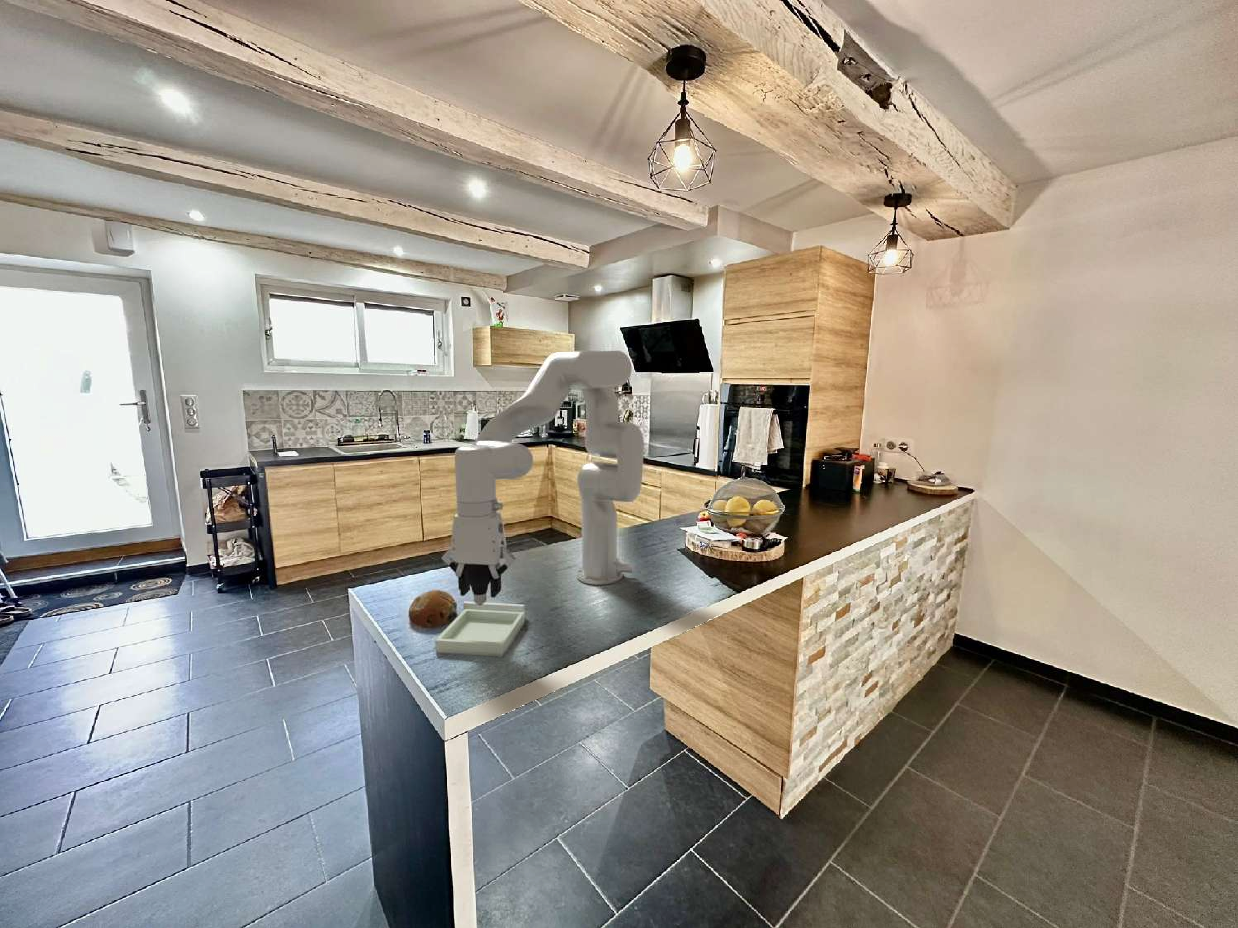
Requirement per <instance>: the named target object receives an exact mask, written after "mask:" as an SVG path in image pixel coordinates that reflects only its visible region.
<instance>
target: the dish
mask: <svg viewBox="0 0 1238 928" xmlns="http://www.w3.org/2000/svg"><path fill="white" fill-rule="evenodd" d="M525 621H526V620H525V618H524V612H510V611H493V610H475V609H464V608H463V611H462V612H460V614H459V615H458V616H456V618H454V619H453V620H452V621H451V623H450V624H449V625H448V626H447V627H446V629H444V630H443V631H442V632H441V634H439V635H438V637H437V638H436V639H434V647H435V653H443V654H455V655H456V654H457V655H458V654H459V655H467V656H468V655H472V656H485V657H499V658H503V657H504V656H505V654H506V653H507V651H508V649H509V648H510V646H511V645H512V644H513V642H514V640H515V639H516V637H517V635H518V634H519V633H520V631H521V629H522V628H523V626H524V624H525Z"/></svg>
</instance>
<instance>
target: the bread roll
mask: <svg viewBox="0 0 1238 928" xmlns="http://www.w3.org/2000/svg"><path fill="white" fill-rule="evenodd" d="M457 612H458V603H457V602H456V600H455V599H454V597H453V596H452V595H451V594H450V593H449V592H447V591H446V590H445V591H444V590H440V589H433V590H428V591H425V592H424V593H422V594H420V595H419V596H417V597H416V598H414V599H413V601H412V602H411V604H410V605H409V608H408V619H409V621H410V623H411V624H412V625H413V626H416V627H421V628H422V629H423V628H425V629H426V628H437V627H441V626H443V625H446V624H449V623H450V622H453V621H454V620H455V617H457Z"/></svg>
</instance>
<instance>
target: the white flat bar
mask: <svg viewBox="0 0 1238 928" xmlns="http://www.w3.org/2000/svg"><path fill="white" fill-rule="evenodd" d="M462 605H463V606H462V607H463V610H464V609H475V610H493V611H510V612H524V618H525V617H526V615H525V613H526V611H525V604H518V603H500V602H485V603H483V604H482V605H478V604H476V603H475V602H474V601H463V604H462Z"/></svg>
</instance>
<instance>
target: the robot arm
mask: <svg viewBox="0 0 1238 928" xmlns="http://www.w3.org/2000/svg"><path fill="white" fill-rule="evenodd" d="M631 374H632V362H631V360H630V358H629V357H628V355H627V353H625V352H623V351H622V350H621V351H620V350H571V351H570V350H568V351H558V352H554V353H552V354H550V355H549V356H548V357H547V358H546V359H545V360H544V361H543V364H542V365H541V366H540V368H539V369H538V371H537V372H536V374H535V376H534V377H533V378H532V380H531V381H530V383H529V384H528V386H527V388H526V389H525V390H524V392H523V394H522V395H521V397H519V398H518V399H516V400H515V401H514V402H512V403H510V404H509V405H507V407H505V408H504V409H502V410H501V411H500V412H499V413H497V414H496V415H495V416H493V417H492V418H491V419H490V420H489V421H488V422H487V423H486V425H485V426H484V427H483V428H482V430H481V431H480V433H479V435H478V436H477V438H475V441H474V442H473V444H472V445H464V446H460V447H458V448H456V450H455V452H454V475H455V490H456V491H455V492H456V494H455V495H456V513H455V515H454V517H453V521H452V528H451V529H452V530H451V539H450V541H451V542H450V545H451V546H450V548H448V550H446V552H445V553H444V554H443V555H442V557H441V560H442V561H443V562H444V563H446V565H448V566H449V569H451V570H452V572H454V575H455V576H456V577H457V579H458V580H457V581H458V590H459V594H460V596H461V597H463V596H465V595H466V594H467V593H469V592H470V591H471V586H470V584H469V583H468V582H467V581H466V579H465V575H464V570H465V567H466V565H467V564H479V565H488V566H489V569H490V571H491V574H492V578H491V579H490V583H489V585H490V586H489V587H490V588H489V589H490V597H491V599H492V598H493V599H494V598H496V597H497V595H499V593H500V592H501V591H502V575H503V574H504V573H505V572H506V571H507V570H508V569H509V568H510V567H511V566H513V564H515V563H516V561H517V558H516V557H515V556H514V554H513V553H512V552H511V551H510V550H509V549H508V548H507V541H506V540H507V539H506V533H505V531H506V530H505V527H504V522H503V521H504V520H503V517H502V514H501V512H498V511H499V510H500V511H502V510H503V508H504V504H503V502H498V498H497V491H496V490H497V488H496V487H497V486H496V485H497V483H496V482H497V481H498V480H517V479H521V478H523V477H525V476H526V475H527V474H529V472H530V471H531V470H532V468H533V466H534V465H533V464H534V457H533V453H532V452H531V450H530V449H529V448H528V447H527V446H525V445H524V444H521V443H518V442H512V441H513V440H514V439H515V438H516V437H518V436H520V435H521V434H523V433H525V432H528V431H529V430H533V429H536V428H538V427H541V426H543V425H545V424H547V423H550V422H551V421H553V420H554V419H555V417H556V416H557V414H558V412H560V409H561V407H562V405H563V404H564V402H565V401H566V398H567V397H568V395H569V394H570V392H571V391H572V390H574V389H576V390H580V391H581V393H582V395H583V397H584V400H585V431H584V442H585V443H584V445H585V450H586V452H587V453H588V454H589V455H591V456H593V457H599V458H607V459H615V460H617V461H616V463H614V462H613V463H612V462H604V461H603V462H602V461H590V462H587V463H585V464H584V465H582V466H581V468H580V469H578V473H577V477H576V478H577V479H576V481H577V488H578V493H579V494H578V495H579V498H580V506H581V507H580V508H581V567H580V568H578V570H577V571H576V578H577V580H578V581H580V582H582V583H584V584H588V585H593V586H594V585H595V586H596V585H600V586H603V585H610V584H614V583H616V582H618V581H620V580H621V579H622V578H623V573H626V574H633V573H634V565H630V563H627V562H626V563H623V562H621V561H620V557H618V514H617V513H618V512H617V508H616V506H615V503H614V502H620V503H631V502H634V501H635V500H636V499H637V498H638V497H639V495H640V491H641V489H642V484H643V483H642V481H643V471H644V470H643V469H644V466H643V465H644V449H645V447H644V446H645V441H644V435H643V432H642V430H641V428H640V427H639V426H637V424H635V423H634V422H633V423H632V422H629V421H627V422H626V421H619V399H618V396H617V394H616V393H615V391H614V389H613V388H614V387H616V388H617V387H621V386H623V385H625V384H626V383H627V382H628V381H629V379H630V377H631ZM502 559H505V562H504V563H503V564H502V565H501V561H500V560H502Z"/></svg>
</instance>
